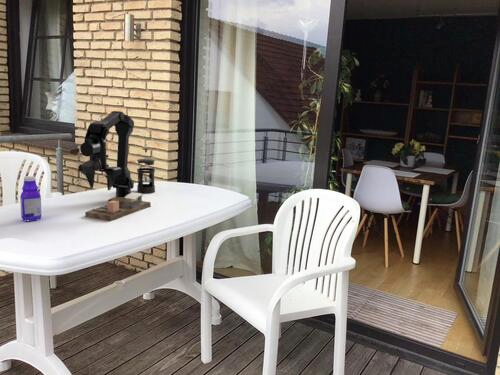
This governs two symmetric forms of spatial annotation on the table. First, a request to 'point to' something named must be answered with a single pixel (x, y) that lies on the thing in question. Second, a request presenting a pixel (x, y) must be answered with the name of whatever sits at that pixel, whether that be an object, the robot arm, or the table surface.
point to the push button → (123, 199)
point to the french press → (146, 187)
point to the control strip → (124, 210)
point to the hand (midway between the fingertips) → (100, 188)
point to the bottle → (30, 200)
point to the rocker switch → (133, 195)
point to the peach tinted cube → (113, 206)
